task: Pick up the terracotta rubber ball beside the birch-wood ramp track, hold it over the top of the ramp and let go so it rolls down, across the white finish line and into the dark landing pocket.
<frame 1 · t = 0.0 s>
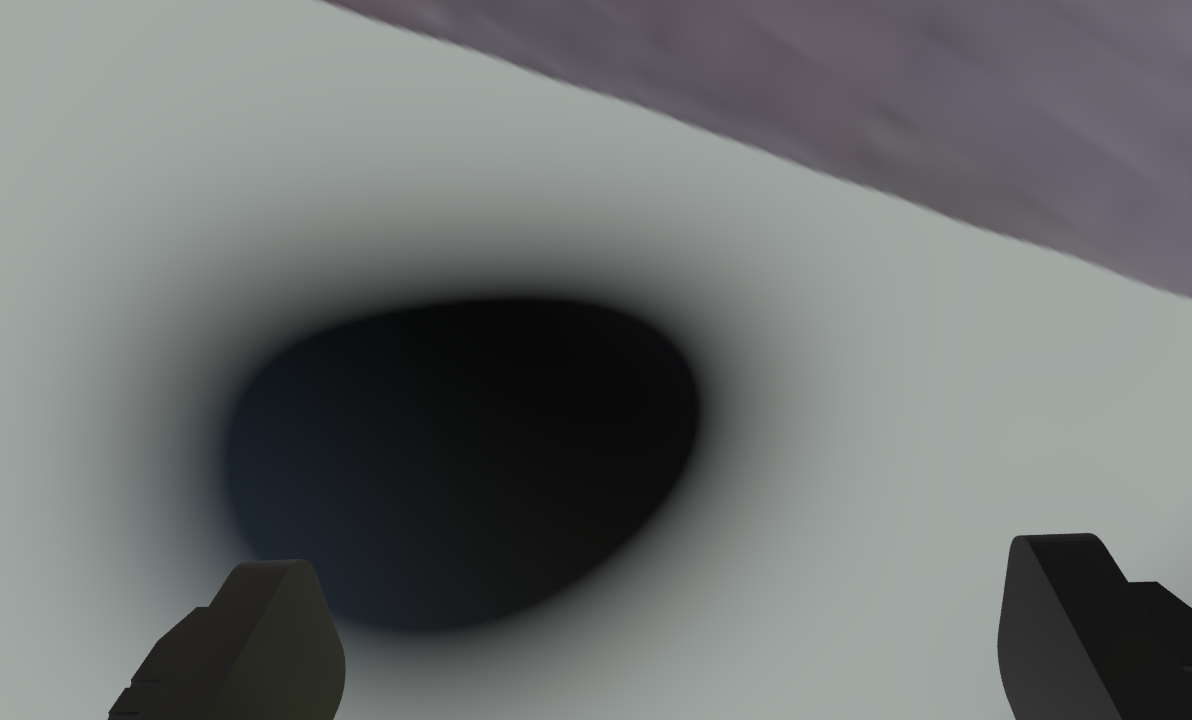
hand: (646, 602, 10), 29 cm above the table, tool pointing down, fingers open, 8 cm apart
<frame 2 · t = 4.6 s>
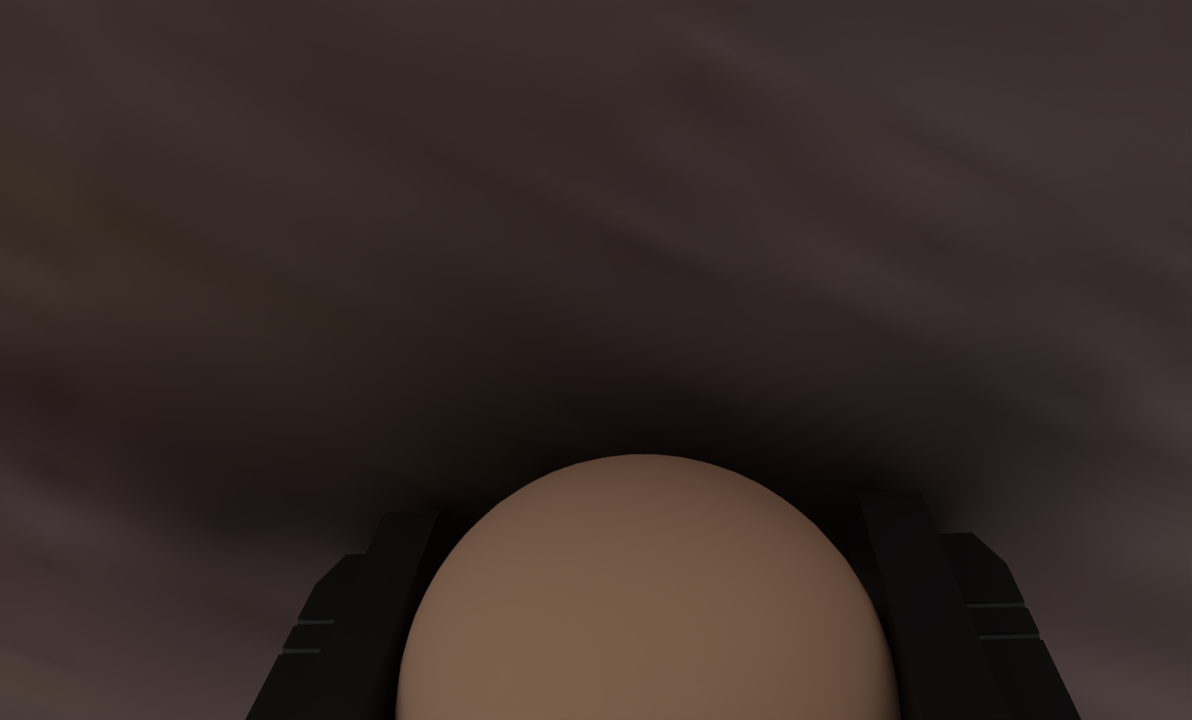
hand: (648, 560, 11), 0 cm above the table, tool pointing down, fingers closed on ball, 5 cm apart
ball: (644, 698, 9), point 2 cm above the table, touching gripper
when the fingers open (6 cm above the table, at t = 9.6 s): ball drops 5 cm and tips over, resting on track.
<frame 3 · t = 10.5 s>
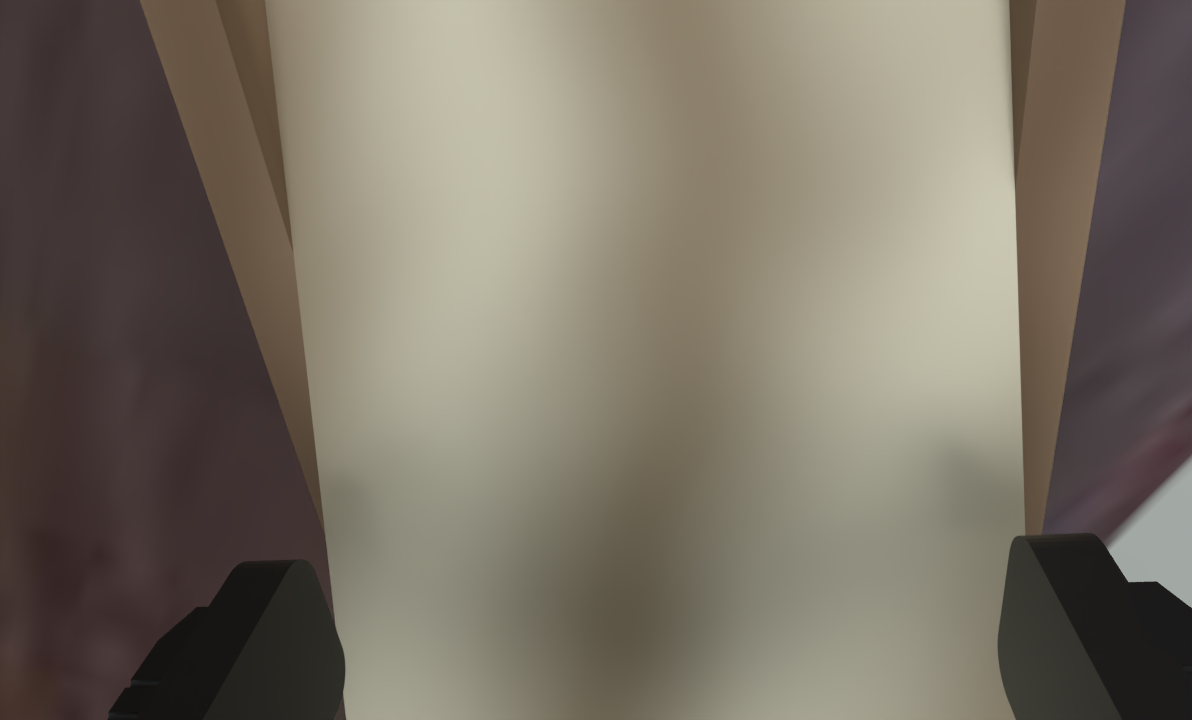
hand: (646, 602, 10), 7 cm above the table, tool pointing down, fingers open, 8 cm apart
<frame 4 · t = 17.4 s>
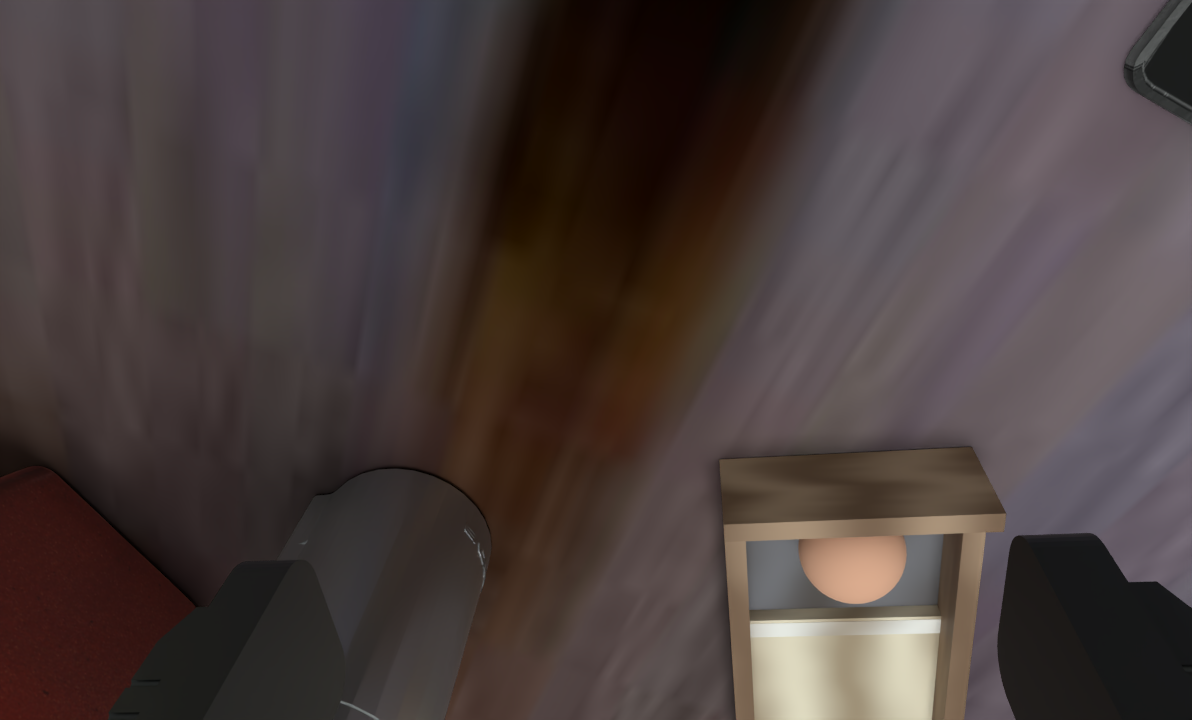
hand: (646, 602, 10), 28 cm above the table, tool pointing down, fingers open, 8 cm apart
plant pot: (60, 572, 51), on the table
ball: (851, 549, 42), point 3 cm above the table, tilted 48°, touching track
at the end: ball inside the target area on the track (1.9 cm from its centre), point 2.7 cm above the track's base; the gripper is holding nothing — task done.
